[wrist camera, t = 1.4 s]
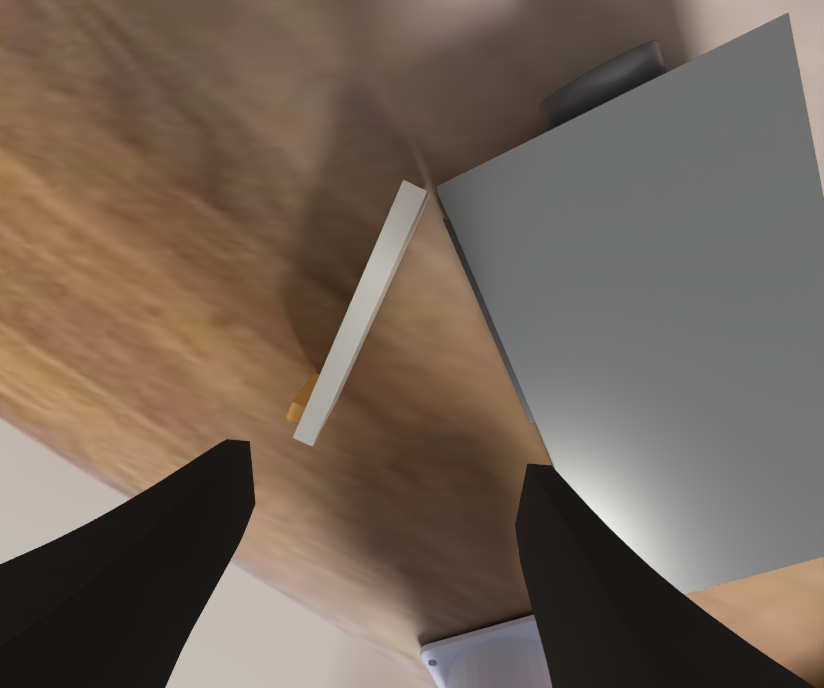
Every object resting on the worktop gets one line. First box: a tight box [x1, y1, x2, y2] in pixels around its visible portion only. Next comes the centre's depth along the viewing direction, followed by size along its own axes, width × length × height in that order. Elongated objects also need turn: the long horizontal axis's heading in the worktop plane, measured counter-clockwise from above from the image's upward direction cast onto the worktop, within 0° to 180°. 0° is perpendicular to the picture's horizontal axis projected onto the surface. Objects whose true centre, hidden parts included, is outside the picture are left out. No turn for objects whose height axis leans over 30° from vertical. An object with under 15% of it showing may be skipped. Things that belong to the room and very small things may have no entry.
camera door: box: [286, 180, 430, 446], centre depth 16 cm, size 10×1×4 cm, turn 155°
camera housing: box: [436, 13, 824, 594], centre depth 16 cm, size 19×10×4 cm, turn 25°
